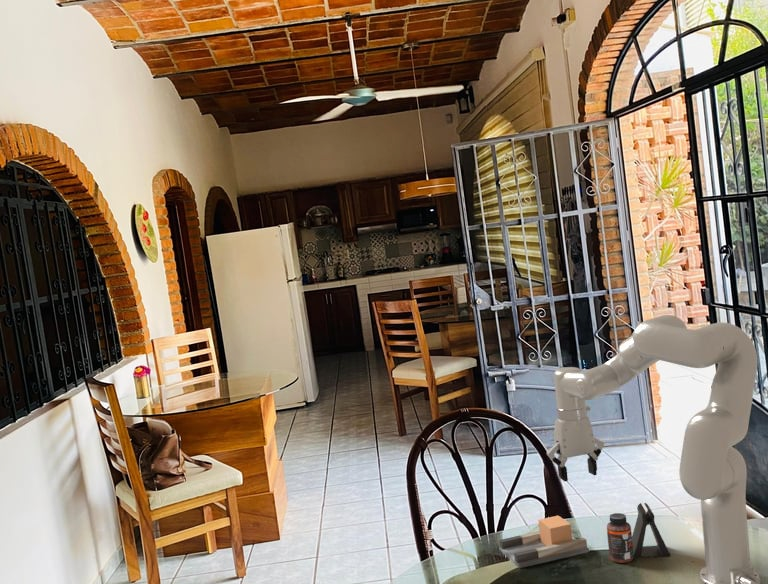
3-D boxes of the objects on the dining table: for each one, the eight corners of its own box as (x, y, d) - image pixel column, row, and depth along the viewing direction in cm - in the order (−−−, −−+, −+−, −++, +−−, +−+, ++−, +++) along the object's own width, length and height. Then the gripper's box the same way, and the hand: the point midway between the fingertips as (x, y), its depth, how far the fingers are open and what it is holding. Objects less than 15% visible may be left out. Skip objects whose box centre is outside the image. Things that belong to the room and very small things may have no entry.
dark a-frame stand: (633, 558, 187) (629, 512, 187) (629, 548, 193) (624, 503, 193) (670, 556, 186) (666, 510, 185) (664, 546, 192) (660, 501, 191)
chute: (589, 551, 194) (588, 540, 194) (519, 568, 189) (518, 556, 189) (565, 534, 206) (564, 524, 206) (499, 549, 202) (498, 538, 202)
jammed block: (572, 546, 196) (570, 524, 196) (552, 550, 195) (550, 528, 194) (560, 536, 203) (558, 515, 202) (540, 541, 201) (538, 519, 201)
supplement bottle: (635, 563, 184) (631, 519, 184) (610, 564, 185) (606, 520, 185) (632, 553, 190) (628, 510, 189) (608, 554, 191) (604, 511, 191)
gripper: (593, 405, 204) (599, 467, 205) (536, 416, 200) (542, 479, 201) (608, 410, 197) (614, 474, 198) (549, 422, 193) (555, 487, 194)
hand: (578, 476), depth 200 cm, fingers open, 8 cm apart
